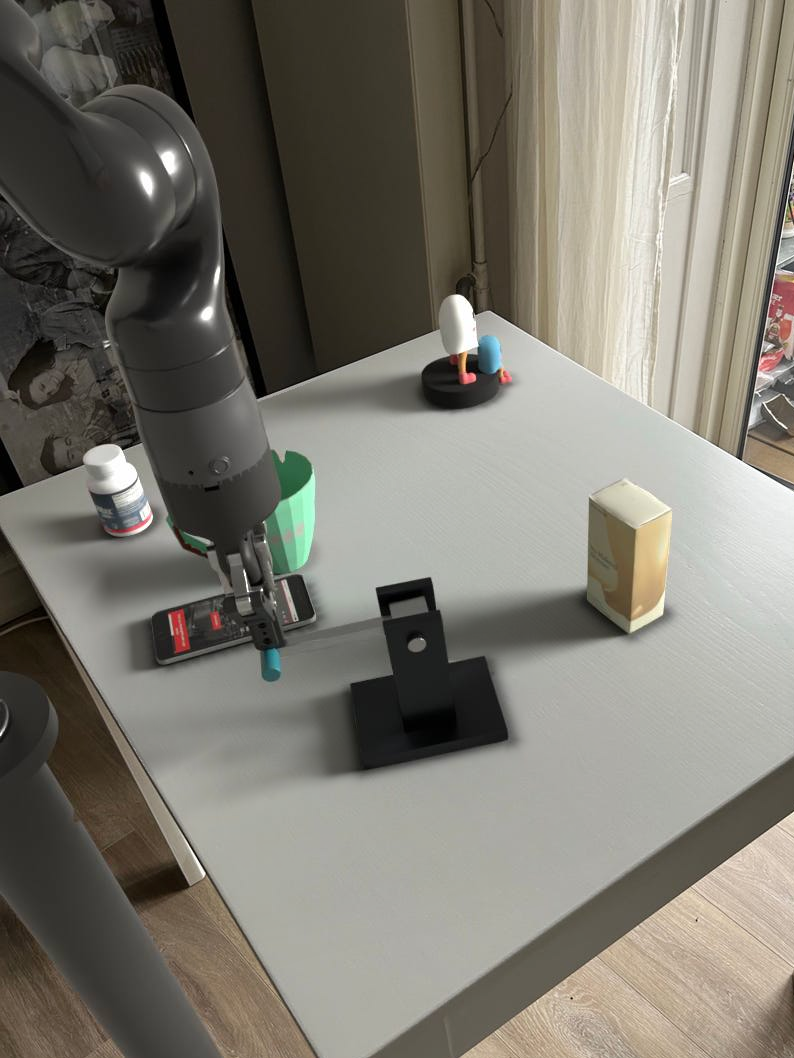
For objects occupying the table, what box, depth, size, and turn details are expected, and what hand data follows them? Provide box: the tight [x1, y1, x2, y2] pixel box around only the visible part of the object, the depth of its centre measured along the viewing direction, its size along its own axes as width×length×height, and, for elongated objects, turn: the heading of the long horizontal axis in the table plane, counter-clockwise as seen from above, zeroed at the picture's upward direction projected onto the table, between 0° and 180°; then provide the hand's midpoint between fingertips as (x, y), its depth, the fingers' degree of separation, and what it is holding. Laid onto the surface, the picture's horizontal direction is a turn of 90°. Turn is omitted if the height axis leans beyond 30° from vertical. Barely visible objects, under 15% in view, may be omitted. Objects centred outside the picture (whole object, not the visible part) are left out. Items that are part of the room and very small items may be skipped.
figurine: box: [420, 294, 513, 410], centre depth 119 cm, size 10×11×12 cm
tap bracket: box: [349, 576, 509, 771], centre depth 79 cm, size 12×9×13 cm
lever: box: [259, 596, 428, 683], centre depth 75 cm, size 13×6×2 cm, turn 102°
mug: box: [165, 448, 316, 575], centre depth 97 cm, size 15×10×10 cm
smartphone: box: [150, 573, 317, 665], centre depth 94 cm, size 7×1×15 cm
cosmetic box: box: [586, 477, 673, 634], centre depth 87 cm, size 6×4×12 cm
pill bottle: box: [82, 443, 154, 538], centre depth 105 cm, size 5×5×9 cm
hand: (270, 642), depth 75 cm, fingers closed
